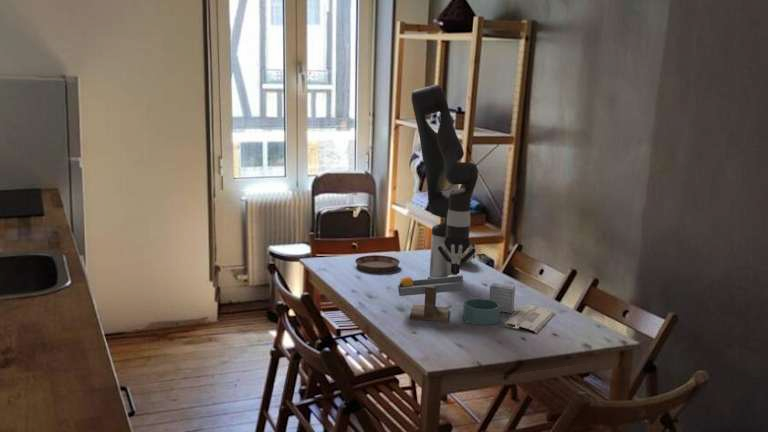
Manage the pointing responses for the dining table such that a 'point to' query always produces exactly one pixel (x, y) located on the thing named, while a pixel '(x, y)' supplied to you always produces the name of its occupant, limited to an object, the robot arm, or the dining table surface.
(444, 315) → the lever stand
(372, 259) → the plant saucer
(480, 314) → the teal faceted bowl
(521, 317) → the newspaper
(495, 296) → the medicine box
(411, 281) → the ball
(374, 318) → the dining table surface
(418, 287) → the lever
